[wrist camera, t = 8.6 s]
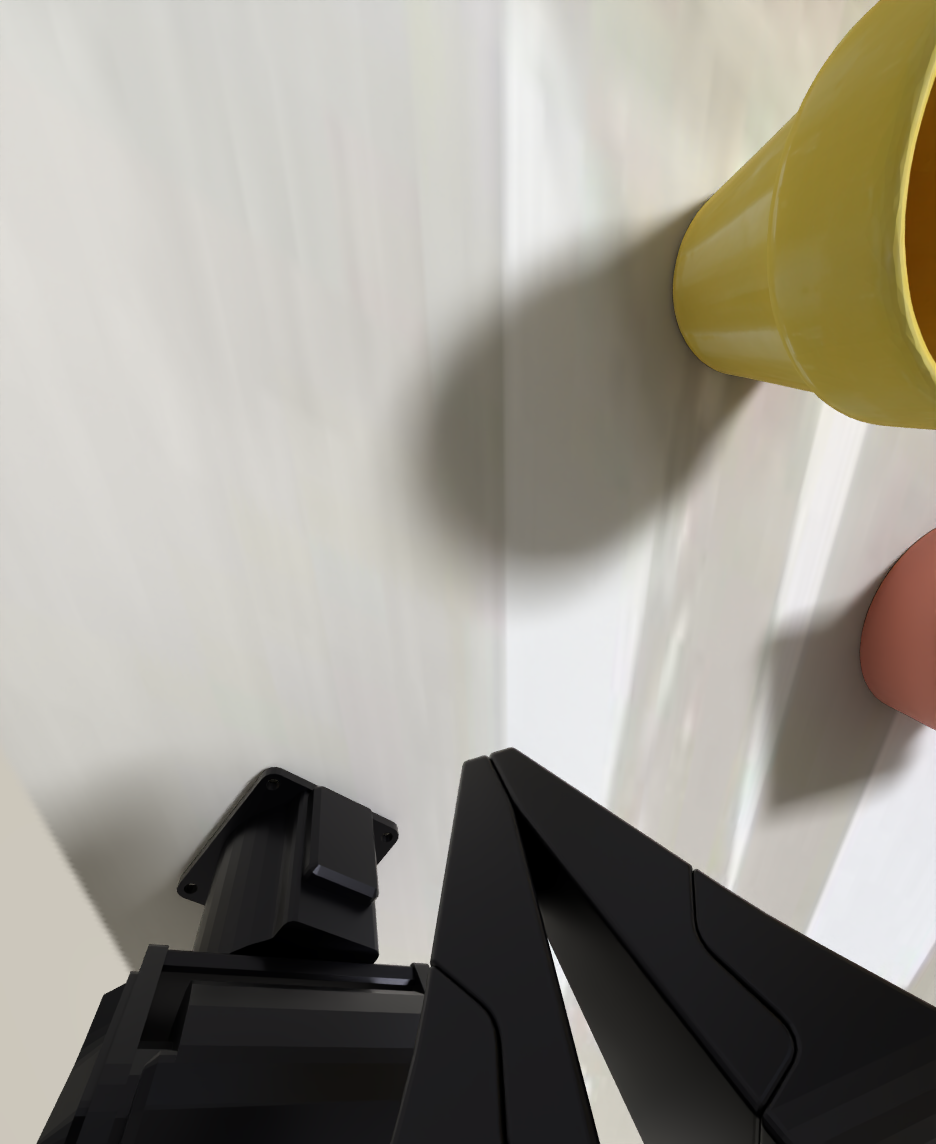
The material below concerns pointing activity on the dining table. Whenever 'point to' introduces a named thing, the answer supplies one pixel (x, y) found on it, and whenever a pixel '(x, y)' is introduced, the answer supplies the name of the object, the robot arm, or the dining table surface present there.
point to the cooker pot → (904, 635)
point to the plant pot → (832, 236)
